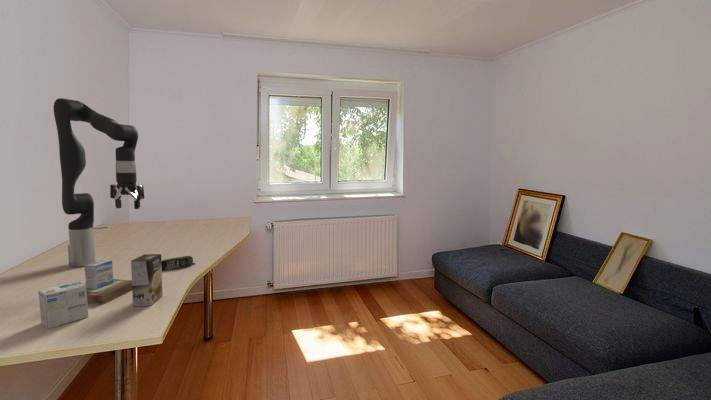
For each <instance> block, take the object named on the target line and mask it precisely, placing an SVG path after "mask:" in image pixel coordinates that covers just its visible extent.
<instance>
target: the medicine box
mask: <svg viewBox="0 0 711 400" xmlns="http://www.w3.org/2000/svg"><path fill="white" fill-rule="evenodd" d="M113 265H114V264H113V260H111V259H110V260H109V259H102V260H99V261H95V263H92V264H89V265H86V266H84V278H85V283H86V288H88V289H99V288H101V287H103V286H106V285H108V284H110V283H113V279H114V270H113Z"/></svg>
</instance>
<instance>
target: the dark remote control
mask: <svg viewBox="0 0 711 400" xmlns="http://www.w3.org/2000/svg"><path fill="white" fill-rule="evenodd" d="M161 261H162V271H170V270H175V268H176V269H181V268H182V267H183V268H186V267H190V266H192V265H196V262H194V258H193V257H192V256H191V255H184V256H183V255H182V256H177V257H172V258H168V259H163V260H162V259H161ZM169 269H170V270H169Z"/></svg>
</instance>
